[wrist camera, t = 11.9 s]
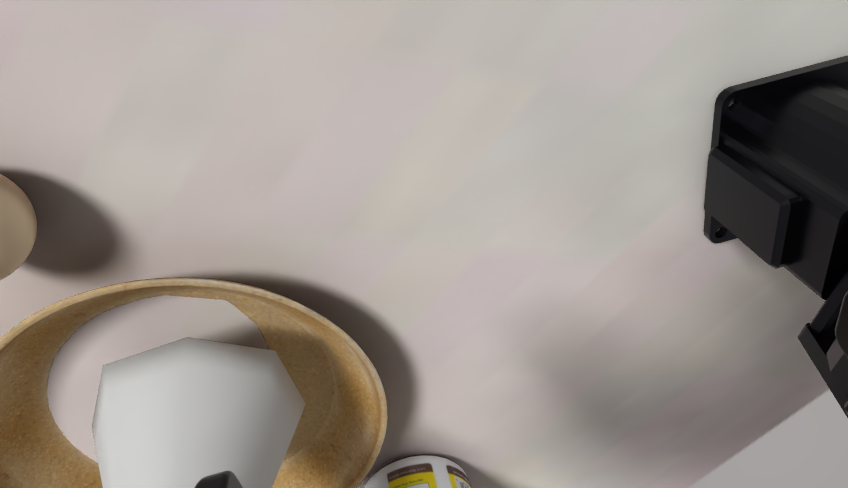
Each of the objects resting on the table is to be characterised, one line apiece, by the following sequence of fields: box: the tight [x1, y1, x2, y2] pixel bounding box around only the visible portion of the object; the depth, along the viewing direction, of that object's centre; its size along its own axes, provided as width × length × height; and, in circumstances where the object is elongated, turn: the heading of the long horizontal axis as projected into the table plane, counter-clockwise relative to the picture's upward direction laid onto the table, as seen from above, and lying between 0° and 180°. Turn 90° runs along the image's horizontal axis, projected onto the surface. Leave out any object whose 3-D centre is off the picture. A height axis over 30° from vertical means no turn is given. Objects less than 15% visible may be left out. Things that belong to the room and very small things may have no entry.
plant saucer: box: [0, 277, 387, 488], centre depth 24 cm, size 15×15×3 cm
